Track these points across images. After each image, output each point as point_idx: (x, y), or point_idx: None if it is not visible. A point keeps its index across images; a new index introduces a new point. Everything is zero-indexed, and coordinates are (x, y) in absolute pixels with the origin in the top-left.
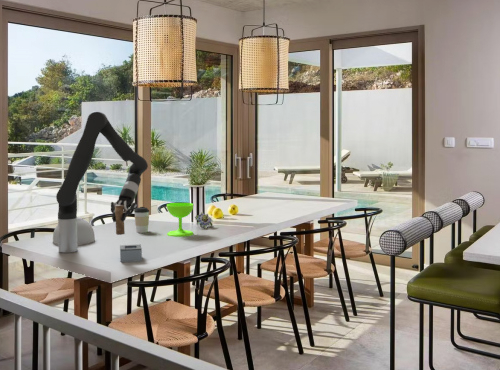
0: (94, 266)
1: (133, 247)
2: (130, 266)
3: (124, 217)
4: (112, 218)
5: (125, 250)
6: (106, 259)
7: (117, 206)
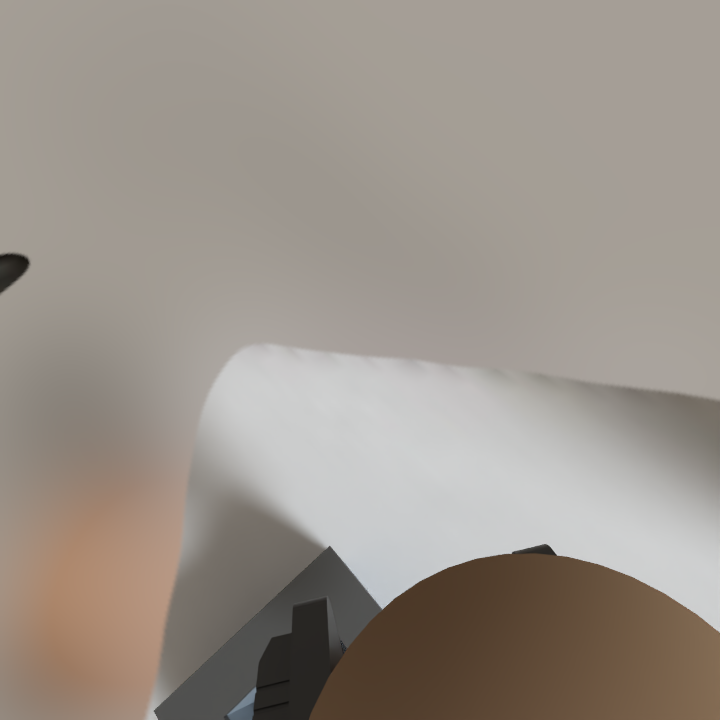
0: (417, 377)
1: None
2: (198, 492)
3: (258, 685)
4: (544, 547)
5: (293, 583)
6: None
7: (454, 569)
